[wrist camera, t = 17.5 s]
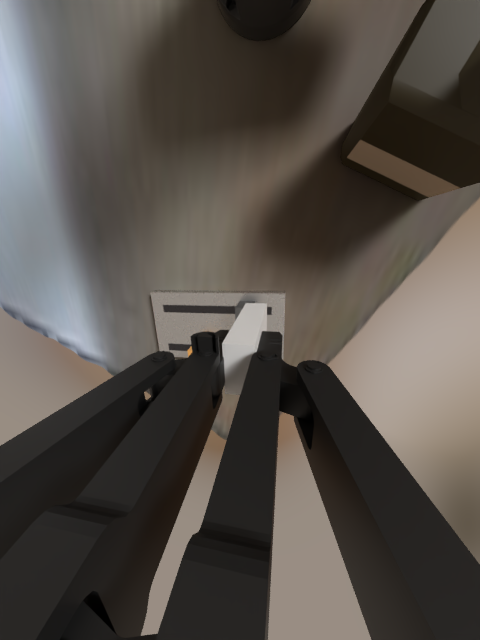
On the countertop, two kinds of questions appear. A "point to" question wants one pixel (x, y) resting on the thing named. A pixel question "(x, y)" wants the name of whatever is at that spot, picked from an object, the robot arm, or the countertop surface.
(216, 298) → the panel
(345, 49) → the countertop surface
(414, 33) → the bottle
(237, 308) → the black fader
